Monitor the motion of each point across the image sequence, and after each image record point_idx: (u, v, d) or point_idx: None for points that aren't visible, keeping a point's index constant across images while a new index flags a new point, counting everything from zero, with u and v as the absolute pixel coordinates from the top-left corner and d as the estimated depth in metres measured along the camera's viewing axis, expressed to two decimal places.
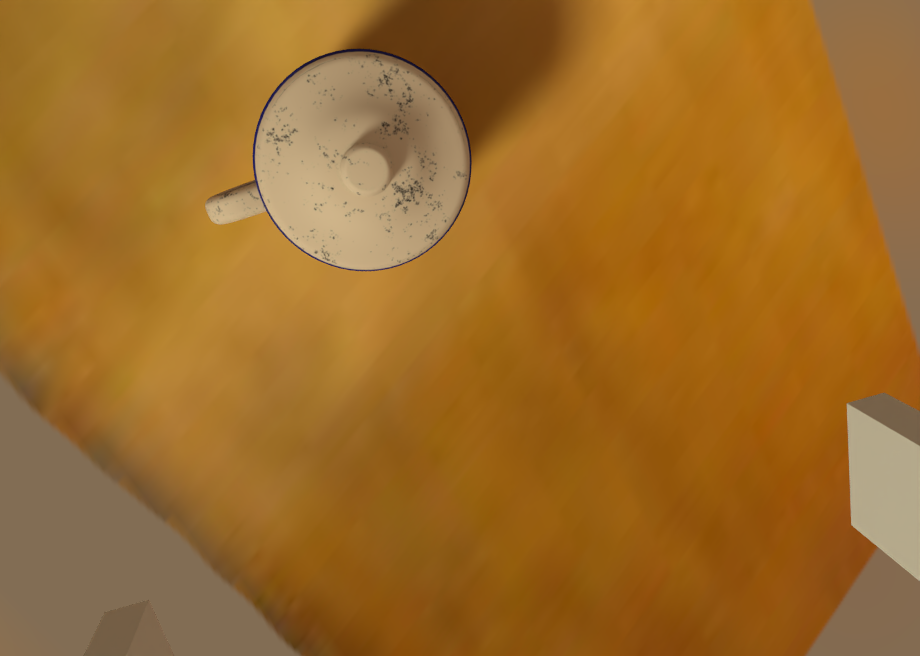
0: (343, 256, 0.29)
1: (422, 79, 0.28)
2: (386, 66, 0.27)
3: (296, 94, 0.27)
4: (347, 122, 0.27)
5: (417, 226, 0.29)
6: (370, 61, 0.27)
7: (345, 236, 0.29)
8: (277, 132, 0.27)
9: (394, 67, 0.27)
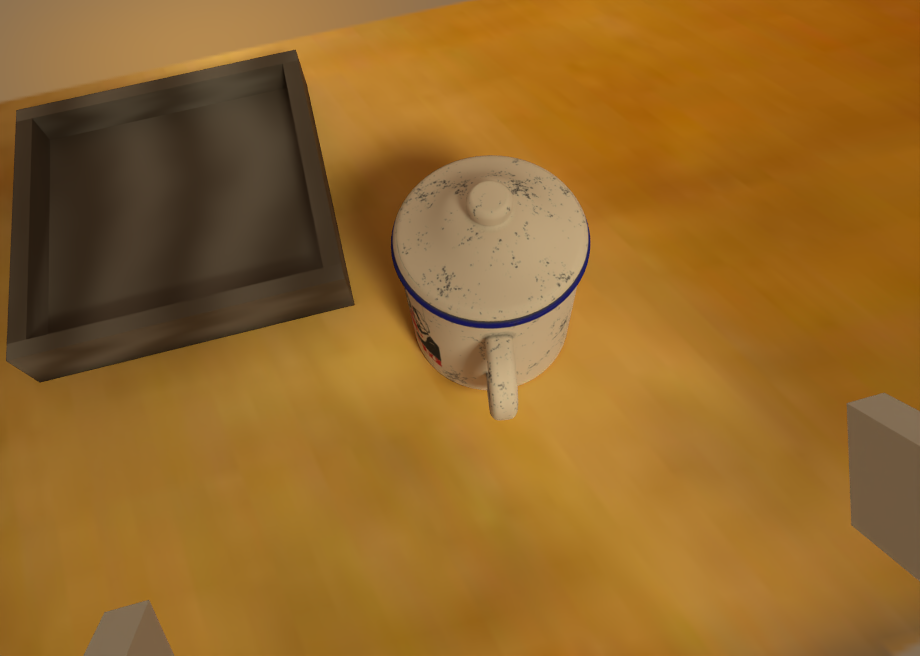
0: (568, 262, 0.30)
1: (430, 175, 0.32)
2: (413, 196, 0.32)
3: (415, 264, 0.30)
4: (447, 218, 0.30)
5: (553, 196, 0.31)
6: (405, 207, 0.32)
7: (548, 251, 0.30)
8: (441, 285, 0.30)
9: (415, 191, 0.32)
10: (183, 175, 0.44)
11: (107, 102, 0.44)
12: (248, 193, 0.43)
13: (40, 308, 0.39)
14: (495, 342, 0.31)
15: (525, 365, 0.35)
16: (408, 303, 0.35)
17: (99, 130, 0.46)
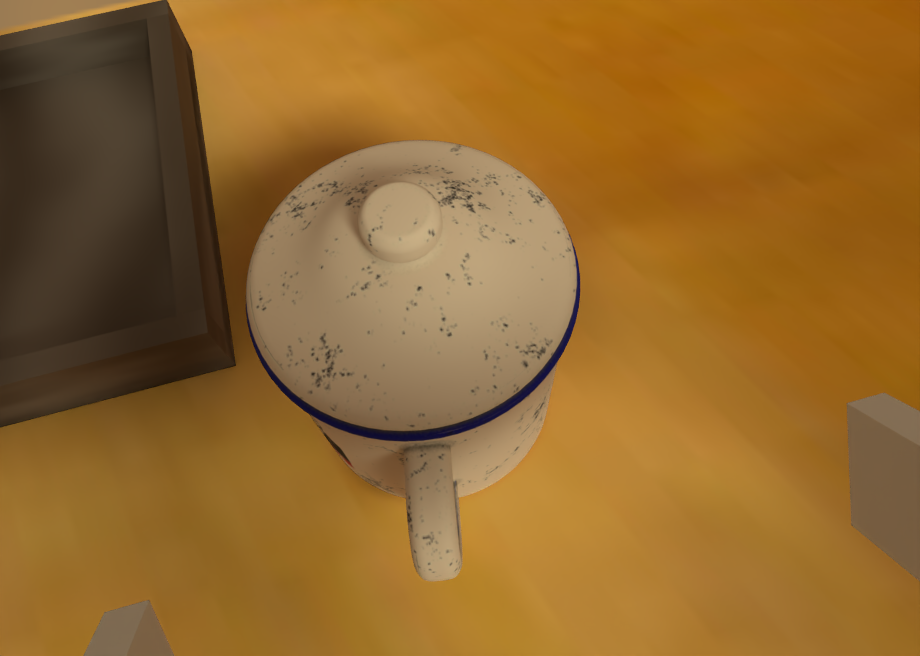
0: (541, 323, 0.17)
1: (316, 173, 0.20)
2: (283, 209, 0.19)
3: (275, 329, 0.17)
4: (328, 248, 0.17)
5: (516, 207, 0.18)
6: (269, 227, 0.19)
7: (506, 305, 0.17)
8: (319, 368, 0.17)
9: (288, 200, 0.19)
10: (1, 177, 0.31)
11: None
12: (90, 202, 0.30)
13: None
14: (419, 459, 0.18)
15: (480, 472, 0.22)
16: None
17: None
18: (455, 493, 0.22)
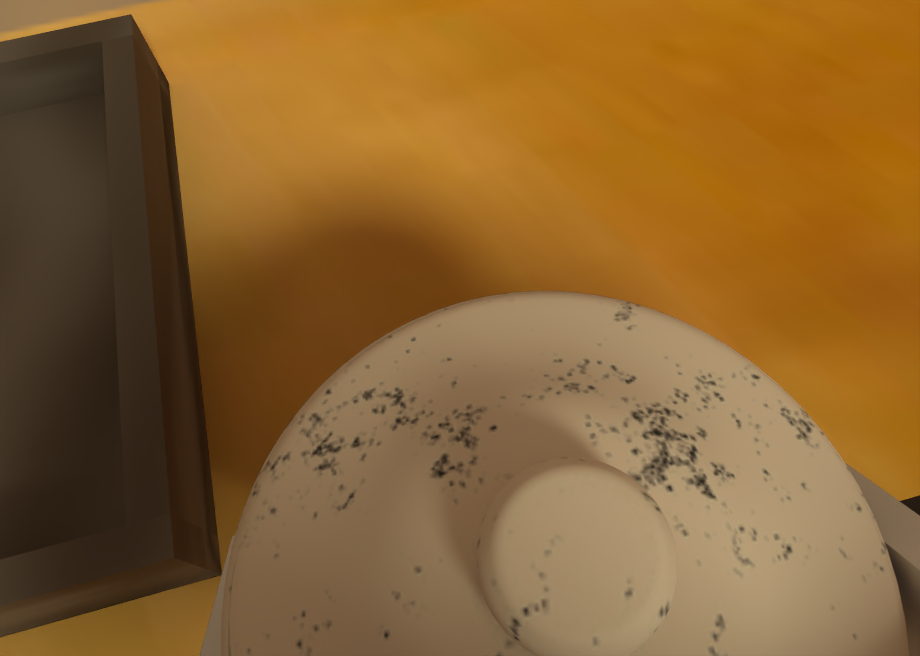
0: None
1: (358, 361, 0.10)
2: (296, 444, 0.10)
3: None
4: (402, 591, 0.08)
5: (772, 455, 0.09)
6: (269, 485, 0.09)
7: None
8: None
9: (305, 423, 0.10)
10: None
11: None
12: (13, 310, 0.20)
13: None
14: None
15: None
16: None
17: None
18: None
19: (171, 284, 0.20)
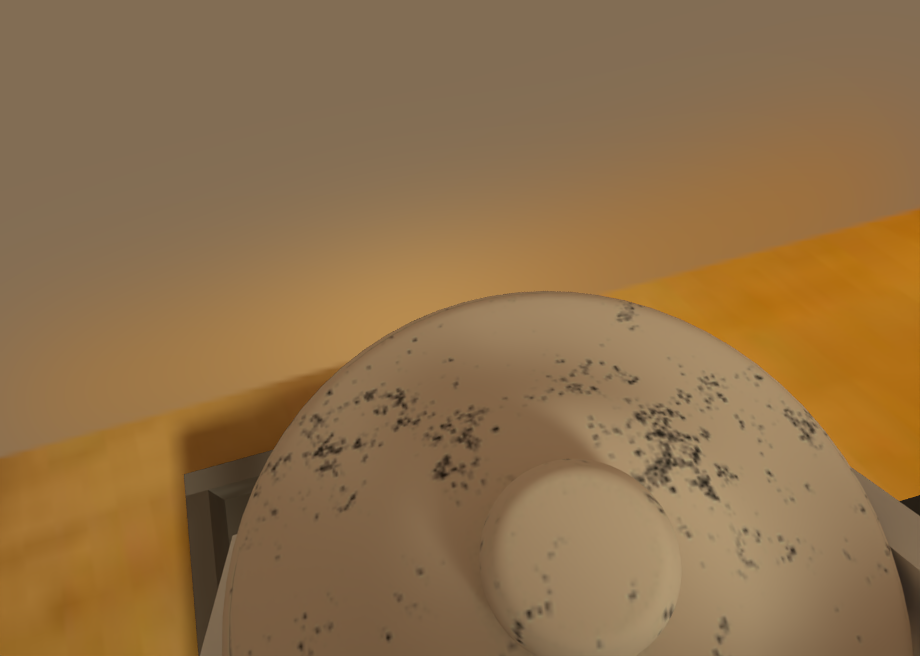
0: None
1: (359, 362, 0.10)
2: (297, 445, 0.10)
3: None
4: (404, 593, 0.08)
5: (775, 457, 0.09)
6: (270, 486, 0.09)
7: None
8: None
9: (306, 424, 0.10)
10: None
11: None
12: None
13: None
14: None
15: None
16: None
17: None
18: None
19: None
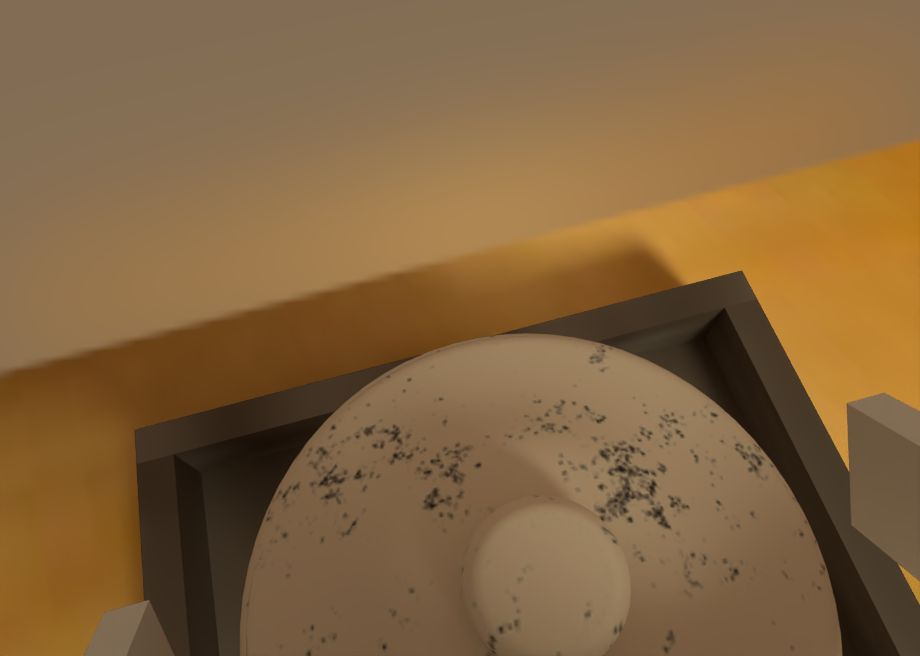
0: None
1: (360, 399, 0.12)
2: (305, 475, 0.11)
3: None
4: (398, 609, 0.09)
5: (725, 487, 0.10)
6: (281, 512, 0.11)
7: None
8: None
9: (313, 456, 0.11)
10: None
11: None
12: None
13: None
14: None
15: None
16: None
17: None
18: None
19: None
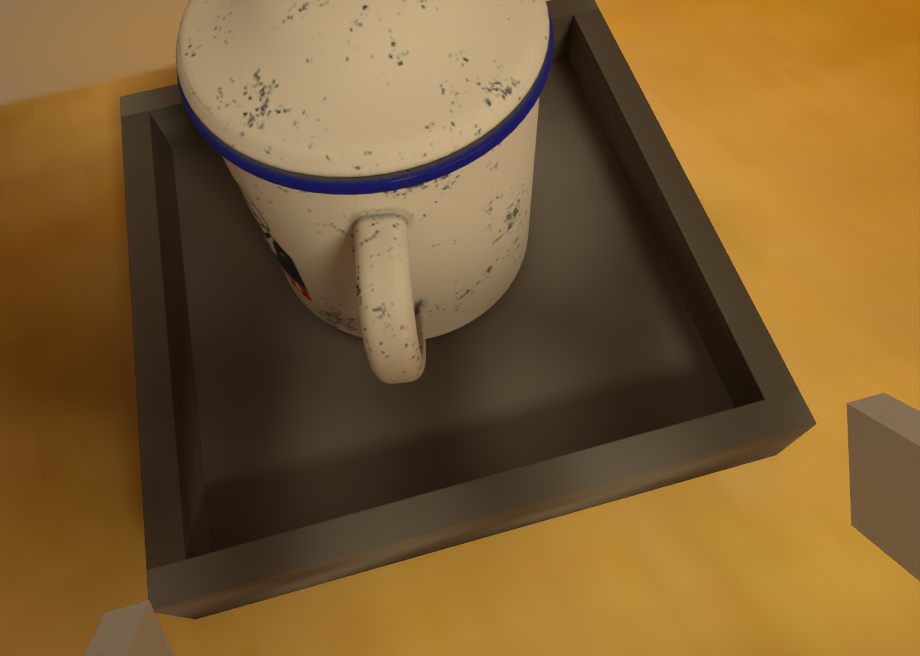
0: (507, 62, 0.15)
1: None
2: None
3: (205, 73, 0.15)
4: None
5: None
6: None
7: (467, 38, 0.15)
8: (252, 107, 0.15)
9: None
10: None
11: None
12: (538, 242, 0.24)
13: (195, 475, 0.20)
14: (371, 228, 0.16)
15: (449, 292, 0.20)
16: None
17: None
18: (420, 312, 0.20)
19: None
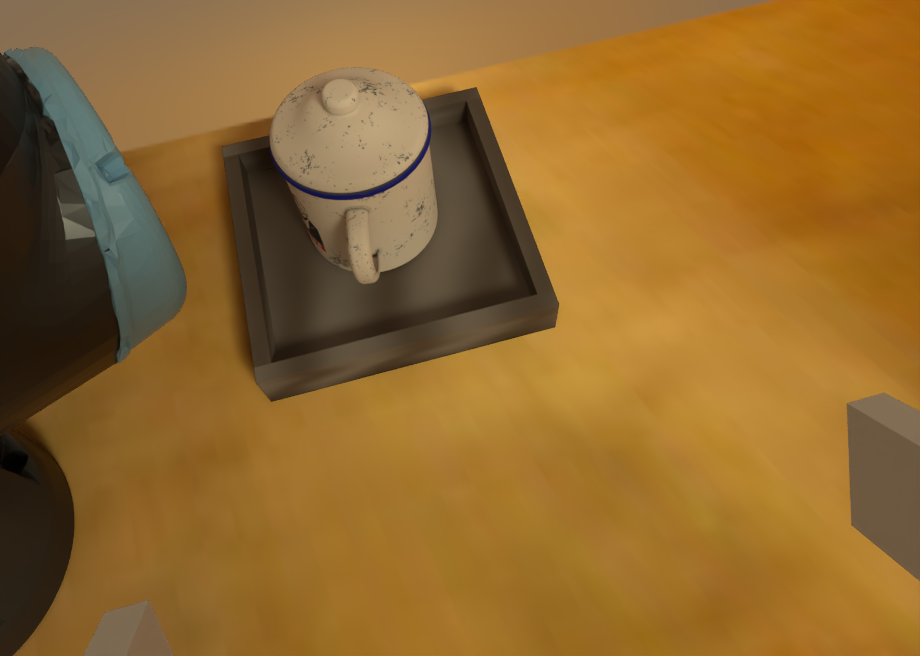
0: (407, 145, 0.37)
1: (303, 83, 0.39)
2: (287, 99, 0.39)
3: (284, 150, 0.37)
4: (308, 111, 0.37)
5: (399, 96, 0.38)
6: (280, 108, 0.39)
7: (390, 136, 0.37)
8: (304, 165, 0.37)
9: (289, 95, 0.39)
10: None
11: None
12: (443, 223, 0.46)
13: (271, 333, 0.42)
14: (352, 214, 0.38)
15: (392, 245, 0.42)
16: None
17: None
18: (378, 254, 0.42)
19: None
